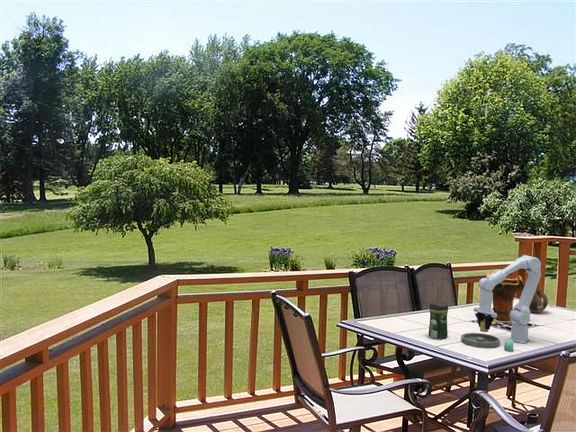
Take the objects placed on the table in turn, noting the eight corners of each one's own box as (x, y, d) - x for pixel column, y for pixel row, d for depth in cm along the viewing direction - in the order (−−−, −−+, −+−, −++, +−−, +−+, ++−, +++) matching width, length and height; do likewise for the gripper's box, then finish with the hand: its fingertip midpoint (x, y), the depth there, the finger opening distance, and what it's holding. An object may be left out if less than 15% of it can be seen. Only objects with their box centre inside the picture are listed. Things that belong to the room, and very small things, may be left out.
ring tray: (469, 335, 282) (469, 331, 282) (504, 342, 270) (504, 337, 270) (455, 342, 269) (455, 337, 268) (491, 350, 257) (491, 345, 257)
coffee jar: (437, 334, 284) (439, 299, 283) (449, 337, 278) (451, 302, 277) (425, 336, 279) (426, 301, 278) (437, 340, 272) (438, 304, 271)
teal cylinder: (505, 348, 260) (506, 338, 260) (514, 350, 258) (514, 340, 257) (502, 350, 257) (503, 340, 257) (511, 352, 255) (511, 342, 254)
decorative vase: (529, 324, 306) (528, 276, 305) (486, 324, 311) (486, 276, 310) (520, 316, 327) (520, 271, 326) (481, 315, 331) (480, 271, 330)
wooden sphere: (520, 308, 350) (521, 286, 349) (545, 311, 345) (546, 288, 344) (522, 313, 336) (523, 290, 335) (548, 316, 331) (550, 292, 330)
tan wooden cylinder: (482, 329, 276) (482, 320, 276) (489, 331, 273) (490, 321, 273) (478, 330, 273) (479, 321, 273) (486, 332, 270) (486, 322, 270)
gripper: (469, 299, 277) (468, 325, 278) (489, 305, 264) (488, 332, 265) (480, 298, 280) (479, 324, 281) (500, 304, 267) (499, 331, 267)
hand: (484, 328), depth 273 cm, fingers closed on tan wooden cylinder, 4 cm apart
